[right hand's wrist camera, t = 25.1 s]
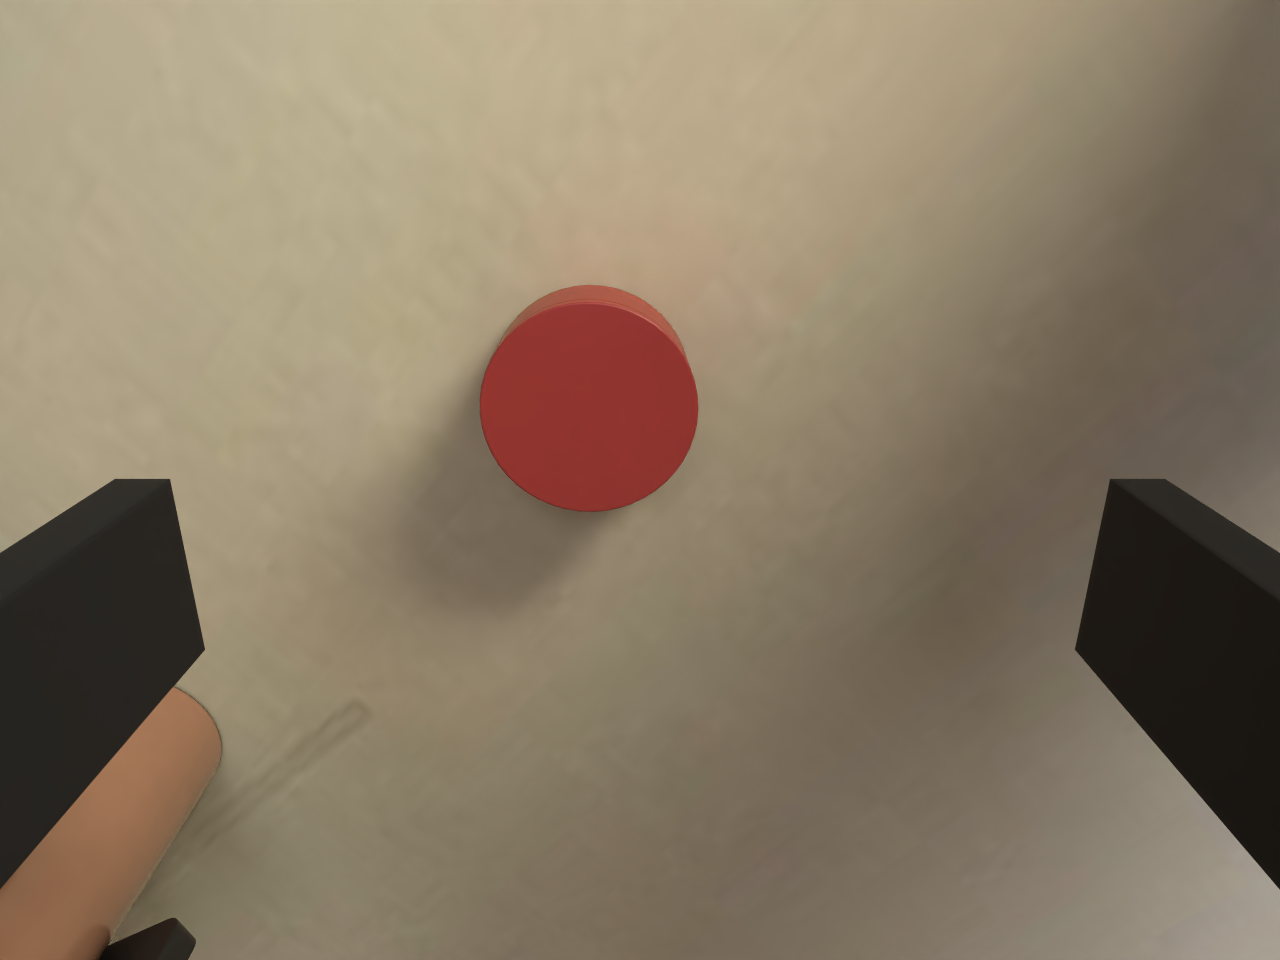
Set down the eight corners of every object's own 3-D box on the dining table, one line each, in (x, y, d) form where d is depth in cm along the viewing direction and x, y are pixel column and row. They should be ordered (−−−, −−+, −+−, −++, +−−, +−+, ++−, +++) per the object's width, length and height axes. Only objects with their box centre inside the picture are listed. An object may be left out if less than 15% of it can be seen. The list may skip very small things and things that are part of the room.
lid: (560, 508, 23) (555, 547, 21) (454, 350, 22) (435, 375, 19) (724, 416, 22) (737, 446, 20) (625, 245, 21) (627, 258, 19)
